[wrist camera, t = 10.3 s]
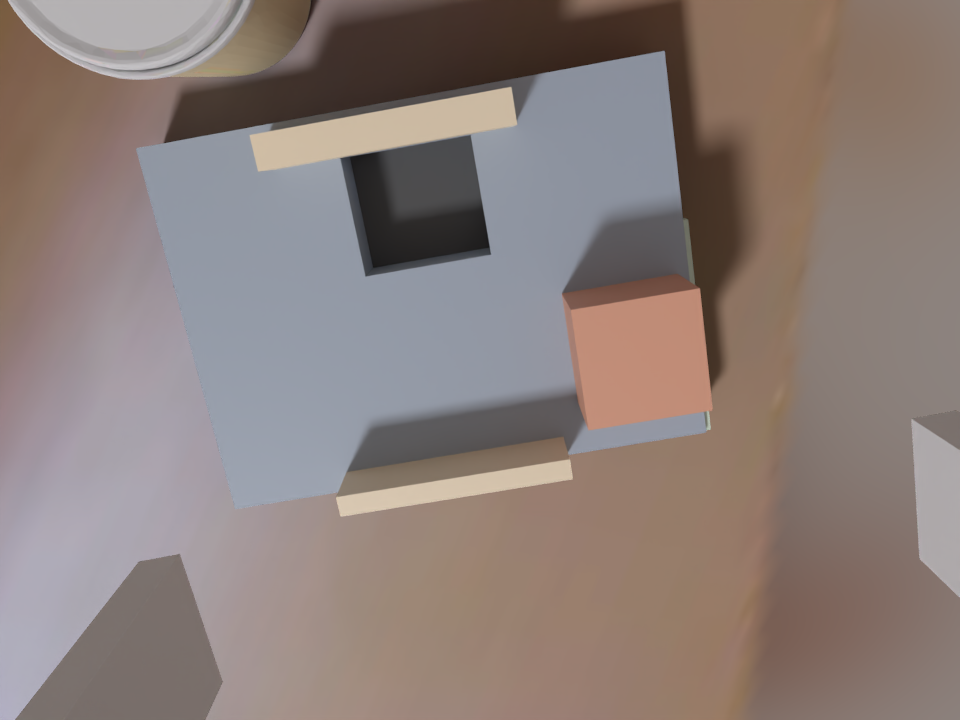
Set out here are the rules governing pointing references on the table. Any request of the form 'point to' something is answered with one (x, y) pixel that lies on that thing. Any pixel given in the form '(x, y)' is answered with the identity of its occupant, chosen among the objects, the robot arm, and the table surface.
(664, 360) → the block
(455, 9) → the table surface
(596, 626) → the table surface
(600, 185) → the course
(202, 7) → the coffee cup
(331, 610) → the table surface
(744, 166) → the table surface
